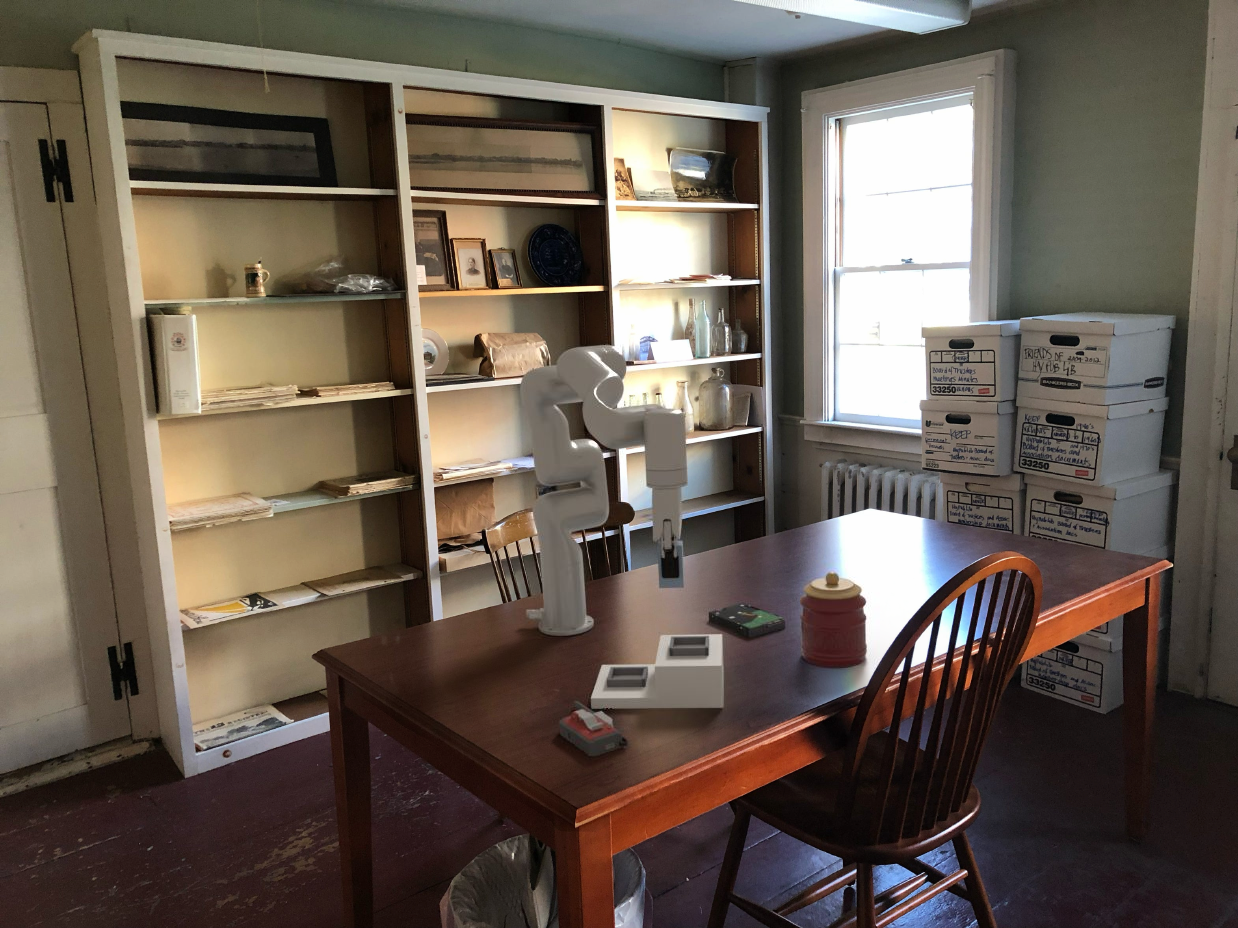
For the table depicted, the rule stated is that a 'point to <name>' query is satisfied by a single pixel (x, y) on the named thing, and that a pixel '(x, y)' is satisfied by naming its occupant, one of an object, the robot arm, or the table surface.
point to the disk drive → (747, 620)
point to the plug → (679, 581)
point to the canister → (833, 622)
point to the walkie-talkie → (591, 731)
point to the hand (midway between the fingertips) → (671, 573)
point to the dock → (667, 677)
